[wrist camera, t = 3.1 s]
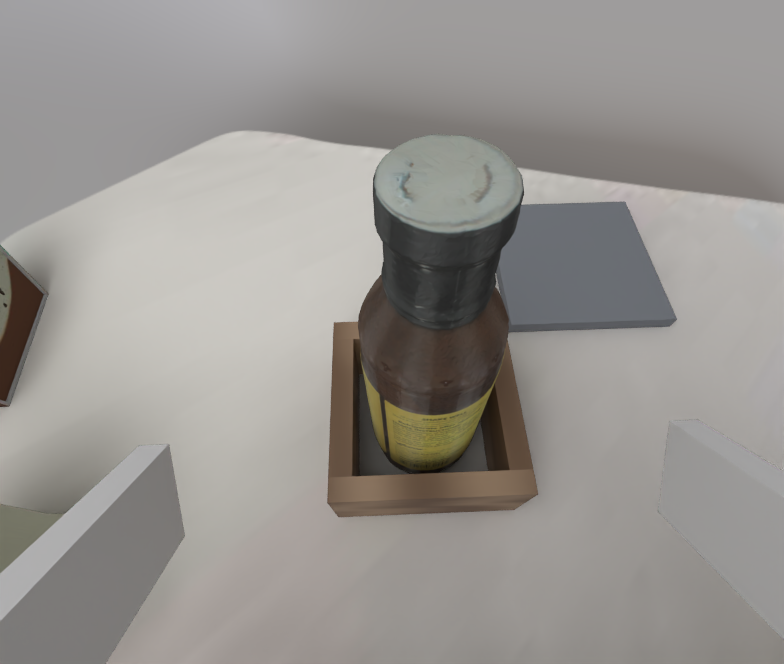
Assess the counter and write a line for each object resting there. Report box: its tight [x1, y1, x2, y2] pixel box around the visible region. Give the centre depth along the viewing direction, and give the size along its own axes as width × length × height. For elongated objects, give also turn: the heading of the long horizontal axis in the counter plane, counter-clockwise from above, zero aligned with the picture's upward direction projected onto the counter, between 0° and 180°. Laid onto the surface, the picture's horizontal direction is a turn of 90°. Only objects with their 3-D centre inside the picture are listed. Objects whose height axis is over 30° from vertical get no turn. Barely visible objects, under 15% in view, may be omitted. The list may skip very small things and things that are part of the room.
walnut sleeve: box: [327, 322, 538, 517], centre depth 26 cm, size 10×10×5 cm
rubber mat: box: [496, 202, 677, 332], centre depth 35 cm, size 12×12×1 cm
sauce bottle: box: [358, 134, 524, 474], centre depth 20 cm, size 6×6×20 cm
